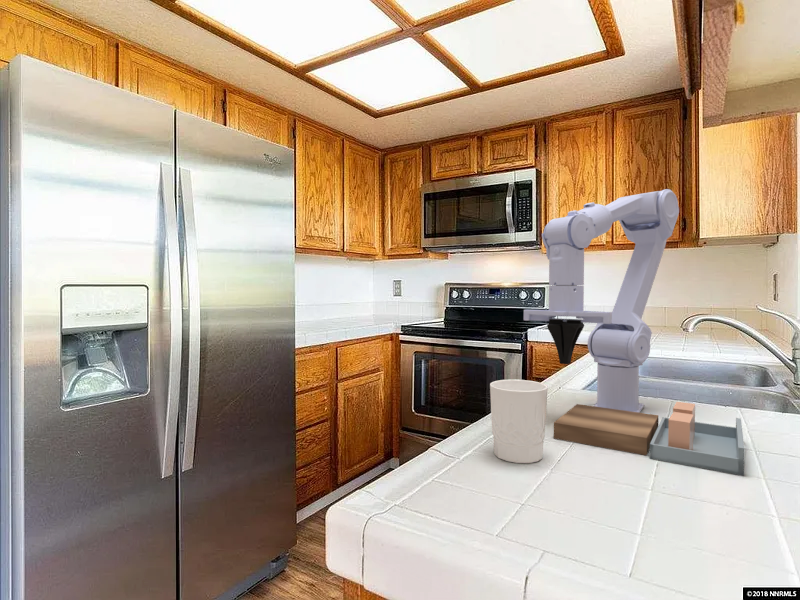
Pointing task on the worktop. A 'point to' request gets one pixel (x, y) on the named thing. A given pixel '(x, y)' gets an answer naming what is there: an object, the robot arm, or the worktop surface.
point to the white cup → (518, 419)
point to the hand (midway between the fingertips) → (565, 363)
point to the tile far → (685, 410)
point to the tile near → (681, 430)
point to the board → (607, 428)
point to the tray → (704, 447)
